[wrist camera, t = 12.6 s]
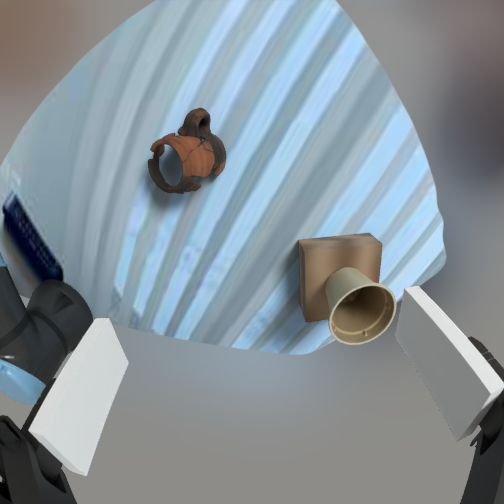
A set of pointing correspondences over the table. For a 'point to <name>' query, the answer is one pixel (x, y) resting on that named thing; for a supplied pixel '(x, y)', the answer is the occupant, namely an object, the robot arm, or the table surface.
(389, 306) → the flower pot
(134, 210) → the table surface
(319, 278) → the walnut stand
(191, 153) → the broken clay jug
